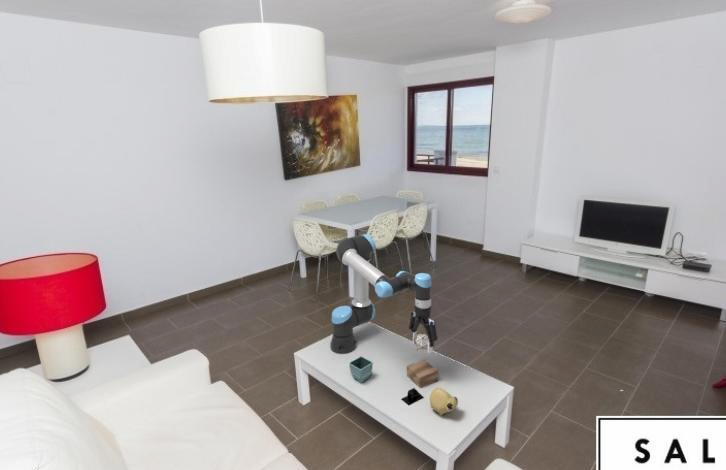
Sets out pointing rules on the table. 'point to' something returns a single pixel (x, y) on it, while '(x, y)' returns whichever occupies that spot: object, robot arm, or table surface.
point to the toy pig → (442, 401)
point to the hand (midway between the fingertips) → (422, 347)
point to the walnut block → (422, 373)
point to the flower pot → (361, 368)
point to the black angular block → (412, 397)
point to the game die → (421, 341)
